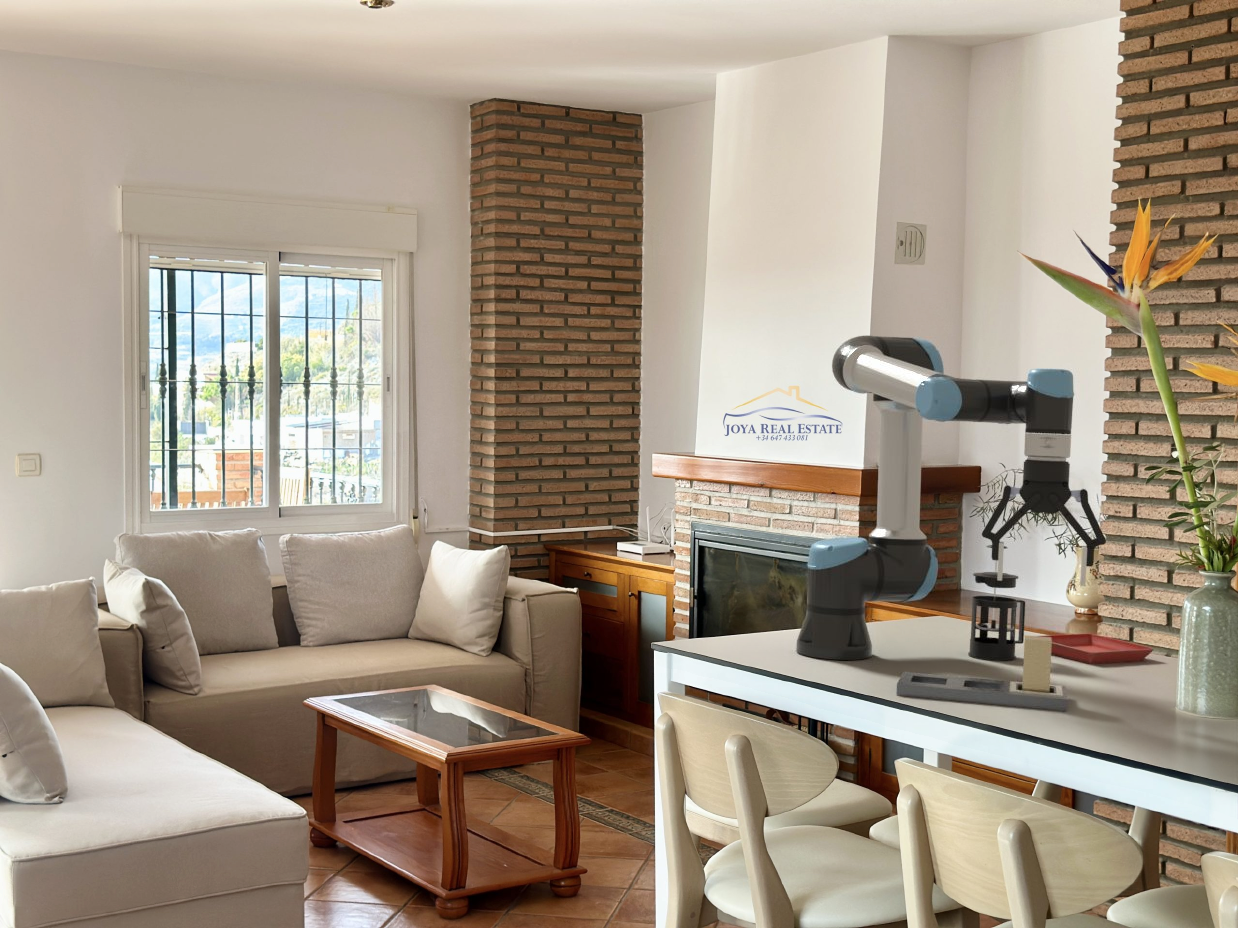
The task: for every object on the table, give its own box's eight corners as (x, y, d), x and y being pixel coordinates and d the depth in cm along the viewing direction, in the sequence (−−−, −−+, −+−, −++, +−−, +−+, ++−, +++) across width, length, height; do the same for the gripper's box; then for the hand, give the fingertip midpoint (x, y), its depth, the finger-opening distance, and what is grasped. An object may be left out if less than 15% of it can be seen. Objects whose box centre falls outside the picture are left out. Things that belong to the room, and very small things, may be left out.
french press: (977, 661, 267) (982, 547, 266) (957, 652, 276) (962, 542, 275) (1031, 661, 269) (1037, 548, 268) (1010, 652, 278) (1015, 543, 277)
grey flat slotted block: (896, 694, 230) (897, 681, 230) (902, 682, 241) (903, 669, 241) (1066, 711, 222) (1067, 697, 222) (1065, 697, 233) (1065, 684, 233)
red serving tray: (1155, 663, 274) (1156, 647, 274) (1090, 667, 266) (1091, 651, 266) (1089, 648, 290) (1089, 632, 290) (1026, 651, 282) (1027, 636, 282)
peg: (1021, 702, 227) (1024, 638, 227) (1021, 697, 232) (1024, 635, 231) (1048, 705, 226) (1051, 641, 226) (1048, 700, 230) (1051, 637, 230)
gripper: (970, 456, 227) (964, 579, 228) (1126, 463, 220) (1119, 590, 221) (972, 455, 235) (967, 574, 235) (1123, 462, 227) (1116, 585, 228)
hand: (1040, 582), depth 228 cm, fingers open, 13 cm apart
